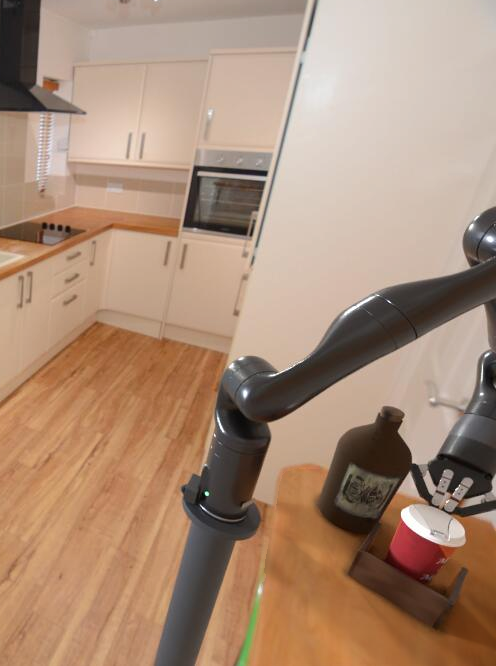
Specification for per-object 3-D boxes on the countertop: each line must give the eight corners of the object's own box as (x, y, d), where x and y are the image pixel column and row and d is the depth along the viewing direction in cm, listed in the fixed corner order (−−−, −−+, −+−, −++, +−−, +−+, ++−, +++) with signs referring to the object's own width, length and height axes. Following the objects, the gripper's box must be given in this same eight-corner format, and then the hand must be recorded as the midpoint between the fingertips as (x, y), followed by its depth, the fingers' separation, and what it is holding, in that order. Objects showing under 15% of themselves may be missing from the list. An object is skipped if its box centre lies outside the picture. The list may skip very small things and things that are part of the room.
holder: (346, 573, 79) (358, 550, 76) (365, 544, 84) (377, 521, 82) (437, 630, 70) (454, 605, 68) (452, 593, 76) (468, 569, 73)
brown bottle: (312, 486, 97) (352, 387, 86) (375, 506, 92) (426, 404, 81) (314, 521, 89) (359, 417, 78) (383, 545, 84) (441, 437, 73)
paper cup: (436, 609, 73) (476, 549, 67) (376, 585, 77) (408, 526, 71) (426, 571, 79) (462, 513, 73) (370, 551, 83) (400, 493, 77)
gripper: (430, 421, 85) (384, 500, 84) (534, 460, 75) (485, 550, 74) (426, 432, 90) (383, 507, 89) (523, 470, 80) (477, 555, 79)
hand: (429, 527), depth 81 cm, fingers closed
